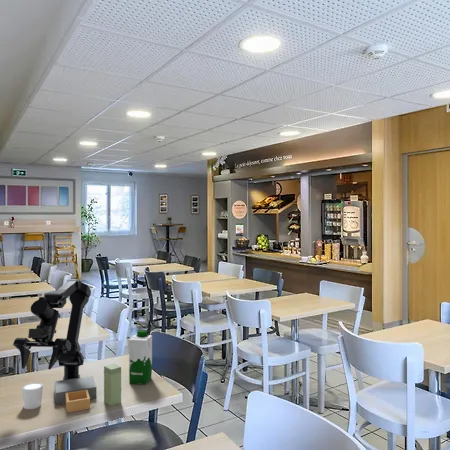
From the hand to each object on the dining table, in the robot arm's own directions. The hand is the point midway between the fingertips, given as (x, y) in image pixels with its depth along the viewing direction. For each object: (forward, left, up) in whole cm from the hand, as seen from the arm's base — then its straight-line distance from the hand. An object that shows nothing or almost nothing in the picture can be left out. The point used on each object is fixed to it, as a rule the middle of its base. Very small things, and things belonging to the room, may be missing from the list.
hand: (36, 369), depth 146 cm
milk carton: (-18, +37, -15) cm, 44 cm away
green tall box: (0, +25, -15) cm, 29 cm away
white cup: (-6, -2, -15) cm, 16 cm away
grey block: (-7, +13, -15) cm, 21 cm away
